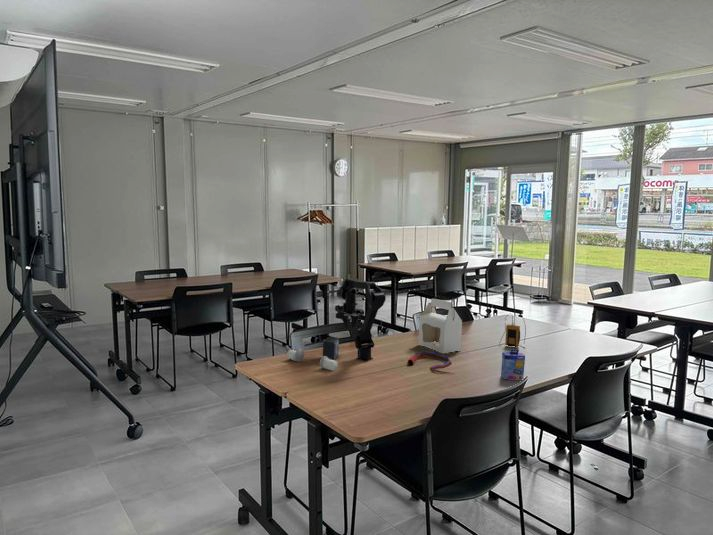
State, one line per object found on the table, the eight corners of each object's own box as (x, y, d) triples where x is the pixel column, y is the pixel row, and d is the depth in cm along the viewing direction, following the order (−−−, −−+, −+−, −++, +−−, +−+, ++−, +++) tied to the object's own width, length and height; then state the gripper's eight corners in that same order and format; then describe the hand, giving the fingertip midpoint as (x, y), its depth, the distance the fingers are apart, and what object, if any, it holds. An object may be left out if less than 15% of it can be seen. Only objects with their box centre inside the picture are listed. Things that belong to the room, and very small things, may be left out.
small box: (334, 361, 267) (334, 342, 266) (322, 360, 268) (322, 341, 267) (339, 356, 277) (339, 337, 276) (327, 355, 279) (327, 336, 278)
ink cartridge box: (503, 380, 244) (504, 350, 242) (500, 376, 249) (501, 347, 248) (524, 380, 243) (526, 350, 242) (520, 377, 249) (522, 347, 247)
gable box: (461, 351, 293) (463, 302, 290) (443, 354, 286) (446, 304, 283) (435, 342, 312) (436, 296, 309) (418, 345, 305) (419, 298, 302)
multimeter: (528, 346, 307) (530, 313, 305) (523, 349, 299) (525, 315, 297) (503, 342, 315) (505, 310, 313) (498, 345, 307) (500, 312, 305)
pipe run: (338, 369, 254) (338, 357, 254) (330, 372, 250) (330, 360, 249) (294, 357, 273) (294, 346, 272) (286, 360, 268) (286, 349, 267)
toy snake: (474, 369, 262) (475, 360, 262) (449, 377, 247) (449, 366, 246) (425, 357, 284) (425, 348, 284) (398, 363, 268) (399, 354, 268)
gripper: (349, 297, 295) (348, 324, 296) (328, 301, 280) (327, 329, 282) (365, 299, 288) (364, 327, 290) (344, 304, 273) (343, 333, 275)
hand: (349, 329), depth 284 cm, fingers open, 5 cm apart
